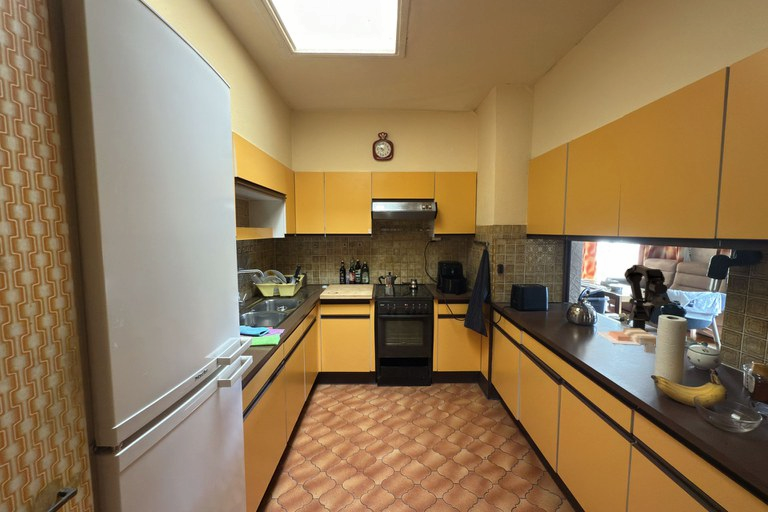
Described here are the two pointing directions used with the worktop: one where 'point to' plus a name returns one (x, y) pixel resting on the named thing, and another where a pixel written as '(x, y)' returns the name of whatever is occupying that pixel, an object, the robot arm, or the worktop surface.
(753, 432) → the worktop surface
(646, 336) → the board
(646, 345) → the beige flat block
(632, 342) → the mat
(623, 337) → the tile
